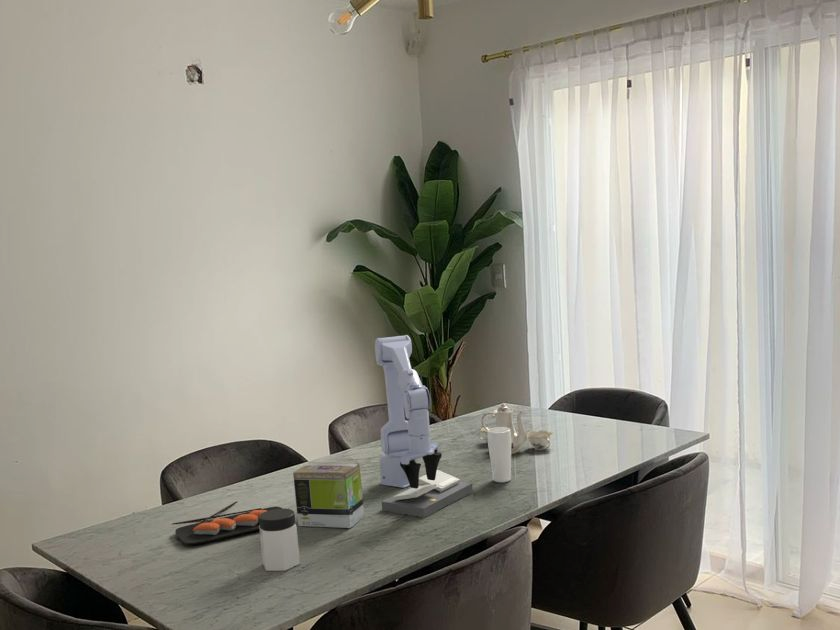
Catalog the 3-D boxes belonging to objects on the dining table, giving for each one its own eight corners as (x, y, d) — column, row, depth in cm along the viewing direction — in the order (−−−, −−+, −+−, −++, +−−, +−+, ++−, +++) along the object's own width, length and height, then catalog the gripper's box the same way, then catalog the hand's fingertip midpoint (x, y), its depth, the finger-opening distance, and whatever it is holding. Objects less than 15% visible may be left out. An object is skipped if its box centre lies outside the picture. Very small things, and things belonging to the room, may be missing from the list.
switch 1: (394, 500, 231) (393, 496, 231) (414, 490, 238) (413, 486, 238) (417, 497, 226) (415, 492, 226) (437, 487, 233) (435, 483, 234)
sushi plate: (185, 552, 213) (183, 537, 213) (161, 519, 240) (160, 506, 240) (297, 526, 226) (295, 512, 226) (262, 497, 253) (261, 484, 253)
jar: (284, 554, 206) (279, 505, 204) (307, 561, 200) (303, 511, 199) (254, 567, 199) (249, 517, 198) (277, 575, 194) (272, 523, 192)
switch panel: (382, 510, 232) (381, 498, 232) (432, 485, 250) (431, 475, 250) (424, 517, 224) (423, 505, 223) (472, 492, 242) (472, 480, 242)
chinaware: (560, 451, 283) (559, 400, 283) (539, 459, 269) (538, 406, 269) (484, 444, 298) (484, 396, 298) (460, 452, 284) (459, 401, 284)
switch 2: (417, 481, 240) (418, 477, 240) (436, 472, 247) (437, 469, 247) (441, 491, 235) (441, 488, 235) (459, 482, 243) (460, 478, 242)
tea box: (365, 516, 229) (360, 461, 227) (350, 529, 219) (345, 473, 218) (314, 513, 234) (309, 460, 232) (296, 527, 224) (291, 471, 223)
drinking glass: (512, 483, 247) (509, 432, 245) (489, 484, 248) (485, 432, 247) (514, 476, 253) (511, 426, 252) (491, 476, 255) (488, 427, 253)
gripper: (414, 441, 221) (418, 493, 222) (447, 428, 232) (450, 477, 234) (393, 439, 225) (397, 490, 226) (426, 426, 237) (429, 474, 238)
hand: (423, 483), depth 230 cm, fingers open, 7 cm apart
